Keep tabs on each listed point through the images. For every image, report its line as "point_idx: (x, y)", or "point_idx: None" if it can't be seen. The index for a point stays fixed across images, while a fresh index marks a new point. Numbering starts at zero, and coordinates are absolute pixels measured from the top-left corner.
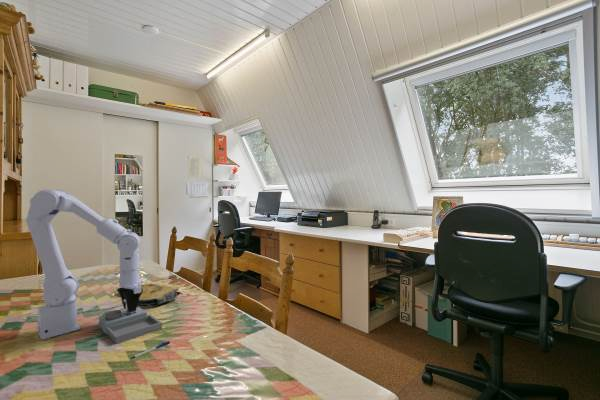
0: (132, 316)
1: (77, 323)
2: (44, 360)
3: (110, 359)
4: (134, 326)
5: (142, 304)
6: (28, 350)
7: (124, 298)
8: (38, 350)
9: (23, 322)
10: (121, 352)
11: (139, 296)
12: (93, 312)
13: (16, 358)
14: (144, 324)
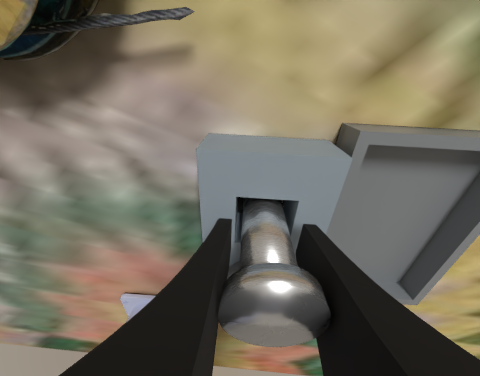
0: (325, 232)
1: (151, 298)
2: (312, 353)
3: (464, 310)
4: (350, 213)
5: (43, 43)
6: (237, 354)
7: (235, 337)
8: (253, 349)
9: (53, 335)
10: (466, 289)
11: (445, 344)
12: (45, 241)
13: (257, 364)
14: (378, 178)
